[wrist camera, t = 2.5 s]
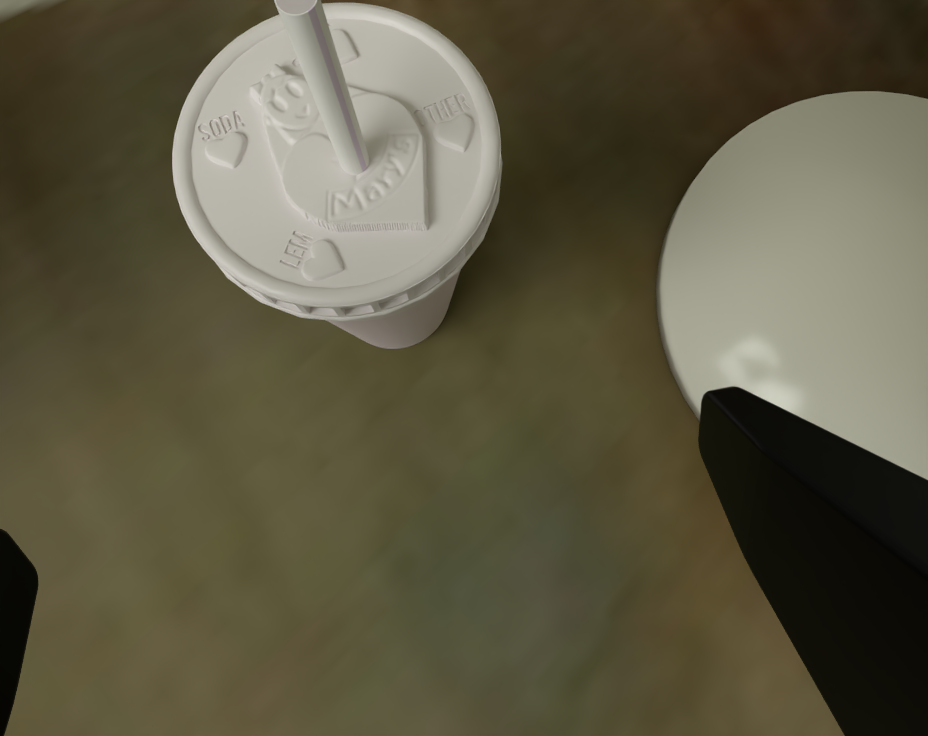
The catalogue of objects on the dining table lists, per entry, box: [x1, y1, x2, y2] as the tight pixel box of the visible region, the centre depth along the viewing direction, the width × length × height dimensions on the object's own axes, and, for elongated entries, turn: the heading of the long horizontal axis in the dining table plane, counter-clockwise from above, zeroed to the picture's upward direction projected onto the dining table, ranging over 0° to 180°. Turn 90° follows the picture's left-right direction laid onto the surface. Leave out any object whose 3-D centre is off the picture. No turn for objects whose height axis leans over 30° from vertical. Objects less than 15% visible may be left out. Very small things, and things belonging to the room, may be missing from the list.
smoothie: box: [172, 0, 503, 349], centre depth 15 cm, size 6×6×14 cm
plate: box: [656, 91, 928, 480], centre depth 21 cm, size 14×14×1 cm
